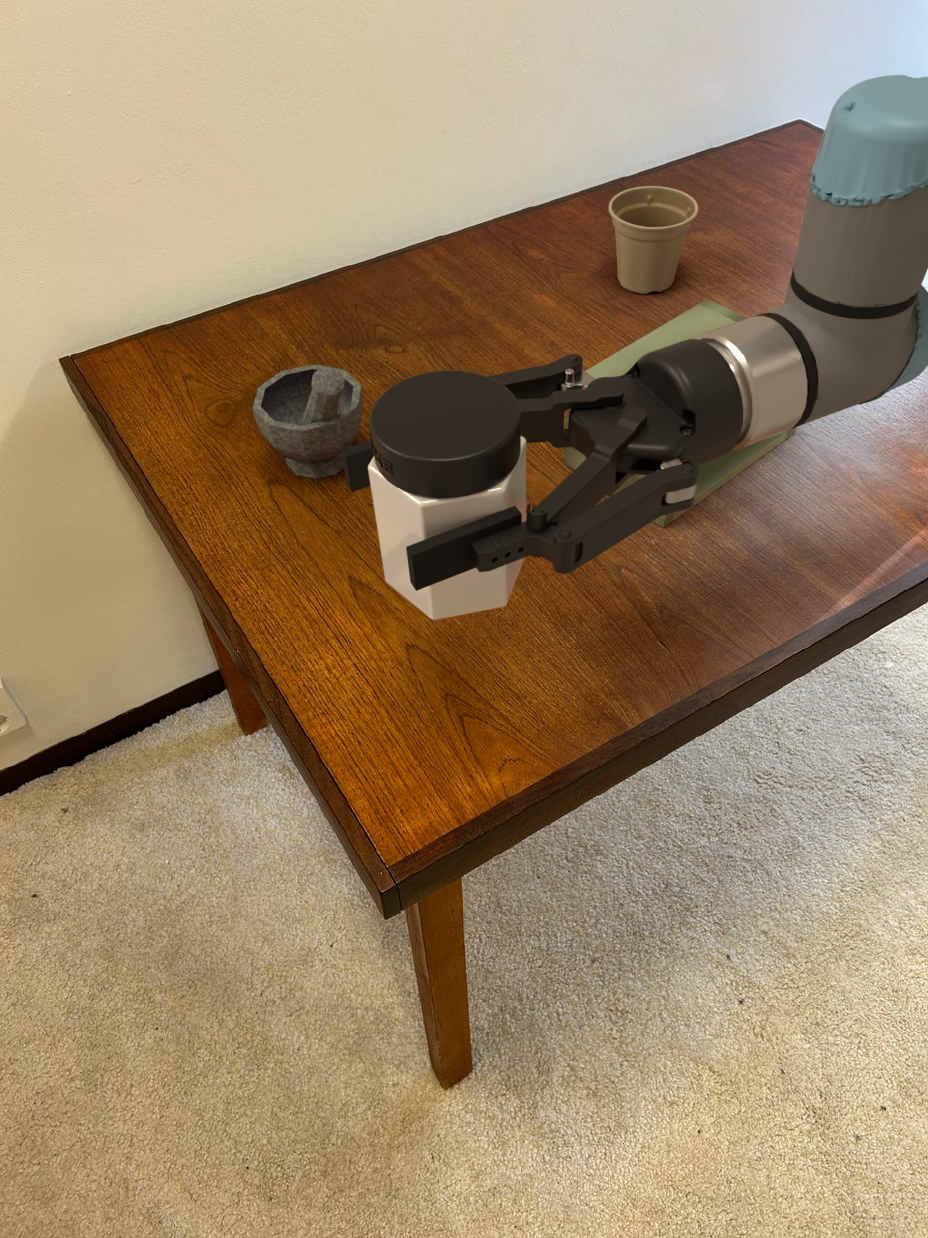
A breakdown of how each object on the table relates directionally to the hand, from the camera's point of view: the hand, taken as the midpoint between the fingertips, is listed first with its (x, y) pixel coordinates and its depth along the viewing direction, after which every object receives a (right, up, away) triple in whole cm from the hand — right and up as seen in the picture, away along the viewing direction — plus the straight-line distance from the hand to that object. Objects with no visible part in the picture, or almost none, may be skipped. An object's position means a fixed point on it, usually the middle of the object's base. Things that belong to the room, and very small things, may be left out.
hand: (377, 517), depth 54 cm
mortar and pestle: (-8, +9, +37) cm, 39 cm away
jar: (+4, -3, +6) cm, 8 cm away
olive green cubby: (+25, +10, +35) cm, 44 cm away
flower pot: (+25, +32, +55) cm, 69 cm away
